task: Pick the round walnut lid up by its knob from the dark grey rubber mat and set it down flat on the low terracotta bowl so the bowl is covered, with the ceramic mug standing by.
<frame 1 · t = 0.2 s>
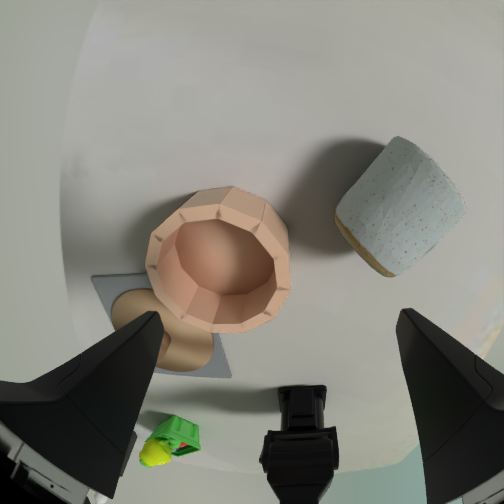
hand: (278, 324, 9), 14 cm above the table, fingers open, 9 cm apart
fruit basket: (175, 423, 43), on the table
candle: (127, 430, 50), on the table
mat: (162, 330, 30), on the table
lid: (161, 333, 30), resting on mat
ceramic mug: (393, 202, 21), on the table
bowl: (227, 248, 24), on the table
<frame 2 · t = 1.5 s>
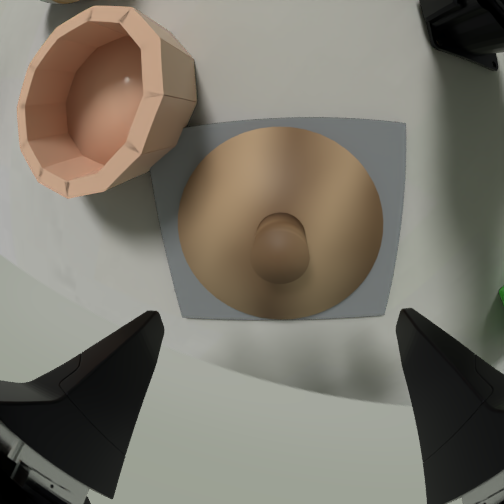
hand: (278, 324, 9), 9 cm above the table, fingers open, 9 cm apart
mat: (280, 229, 17), on the table
lid: (280, 232, 17), resting on mat
bowl: (119, 99, 14), on the table
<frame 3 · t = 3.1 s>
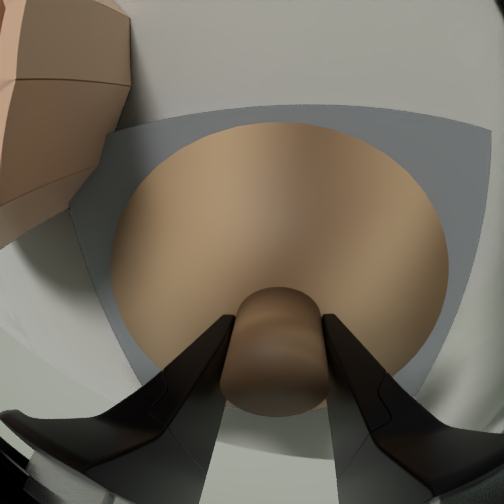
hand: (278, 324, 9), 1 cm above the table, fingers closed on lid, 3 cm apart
mat: (279, 303, 10), on the table
lid: (279, 311, 10), resting on mat, touching gripper
bowl: (33, 98, 7), on the table
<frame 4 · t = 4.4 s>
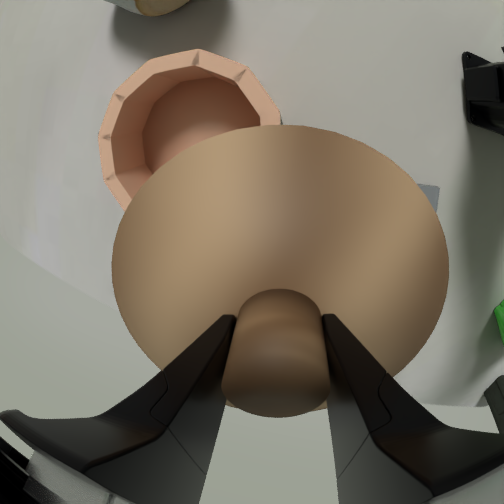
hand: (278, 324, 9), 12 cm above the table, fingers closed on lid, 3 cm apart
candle: (496, 384, 28), on the table
lid: (280, 313, 10), point 11 cm above the table, touching gripper
bowl: (203, 139, 18), on the table
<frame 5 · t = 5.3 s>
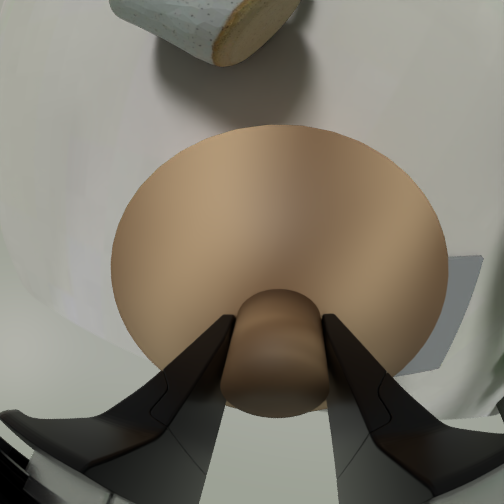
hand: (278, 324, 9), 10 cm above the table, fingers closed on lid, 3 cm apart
mat: (392, 327, 21), on the table
lid: (279, 313, 10), point 9 cm above the table, touching gripper
ceramic mug: (233, 1, 12), on the table
when the fingers open (7 cm above the table, at t = 6.1 s): lid stays where it is, resting on bowl.
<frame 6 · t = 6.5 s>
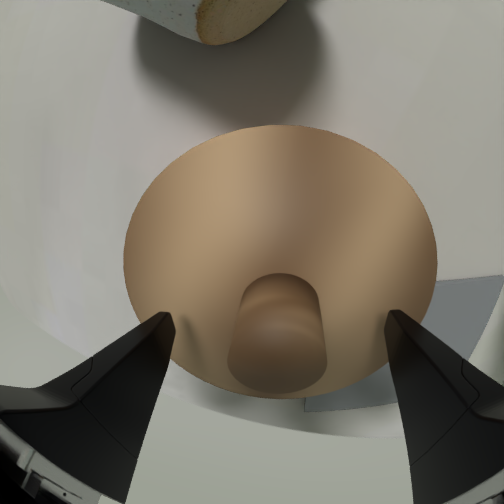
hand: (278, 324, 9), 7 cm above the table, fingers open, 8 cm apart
mat: (404, 354, 18), on the table
lid: (280, 297, 11), point 5 cm above the table, touching bowl
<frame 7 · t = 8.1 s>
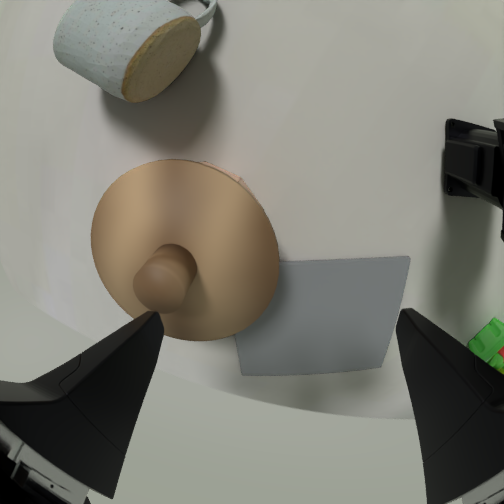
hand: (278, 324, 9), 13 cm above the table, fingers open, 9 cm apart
fruit basket: (483, 344, 26), on the table
mat: (318, 325, 25), on the table
lid: (177, 260, 17), point 5 cm above the table, touching bowl
ceramic mug: (159, 36, 15), on the table
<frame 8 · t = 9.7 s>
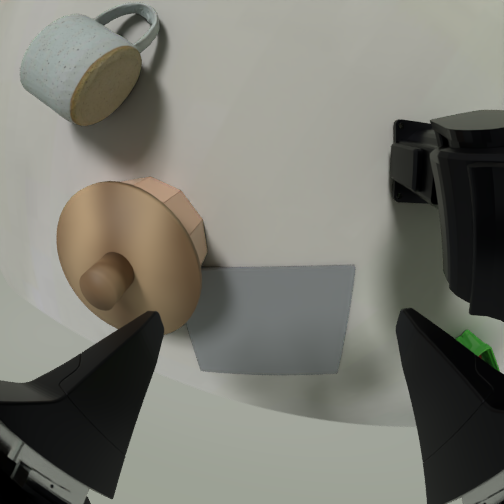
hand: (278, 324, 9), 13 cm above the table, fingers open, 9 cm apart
fruit basket: (457, 355, 27), on the table
mat: (265, 328, 26), on the table
lid: (121, 266, 19), point 5 cm above the table, touching bowl
ceramic mug: (114, 58, 16), on the table
bowl: (147, 238, 23), on the table
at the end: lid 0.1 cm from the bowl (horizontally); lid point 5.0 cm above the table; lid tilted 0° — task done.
